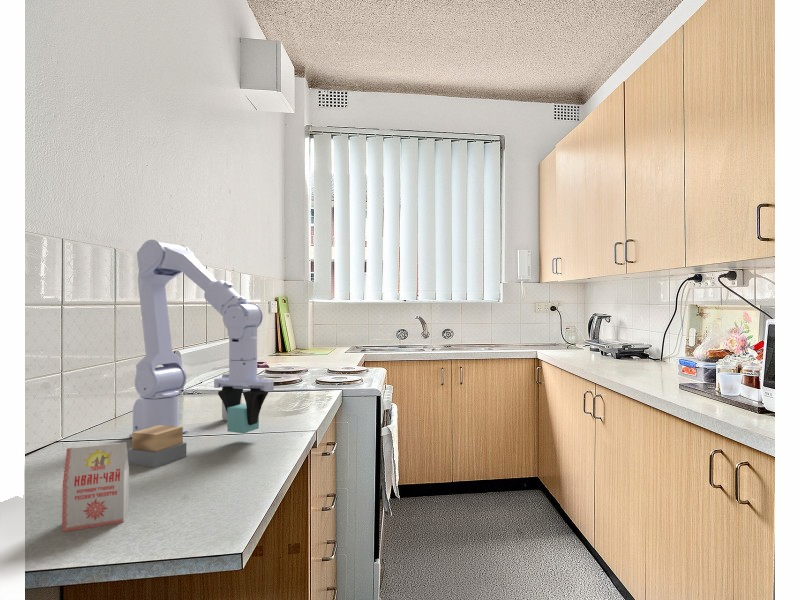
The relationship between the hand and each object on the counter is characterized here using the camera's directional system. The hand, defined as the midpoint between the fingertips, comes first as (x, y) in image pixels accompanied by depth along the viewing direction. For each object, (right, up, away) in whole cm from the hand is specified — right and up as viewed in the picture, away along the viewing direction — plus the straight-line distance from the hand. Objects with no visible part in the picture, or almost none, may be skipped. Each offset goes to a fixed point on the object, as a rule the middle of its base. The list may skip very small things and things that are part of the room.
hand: (243, 423), depth 99 cm
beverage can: (-10, -5, +22) cm, 24 cm away
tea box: (-7, -3, -37) cm, 38 cm away
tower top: (-12, -1, -11) cm, 17 cm away
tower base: (-12, -4, -12) cm, 17 cm away
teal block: (0, -2, 0) cm, 2 cm away
